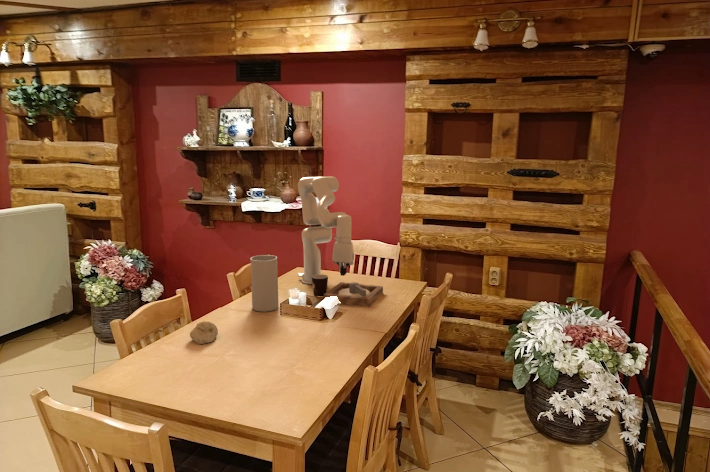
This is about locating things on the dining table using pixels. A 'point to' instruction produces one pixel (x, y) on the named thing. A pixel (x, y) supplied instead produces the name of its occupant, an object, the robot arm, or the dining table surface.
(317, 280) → the coffee mug
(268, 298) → the cylinder vase
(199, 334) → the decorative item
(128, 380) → the dining table surface
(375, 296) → the dial housing
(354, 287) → the dial
